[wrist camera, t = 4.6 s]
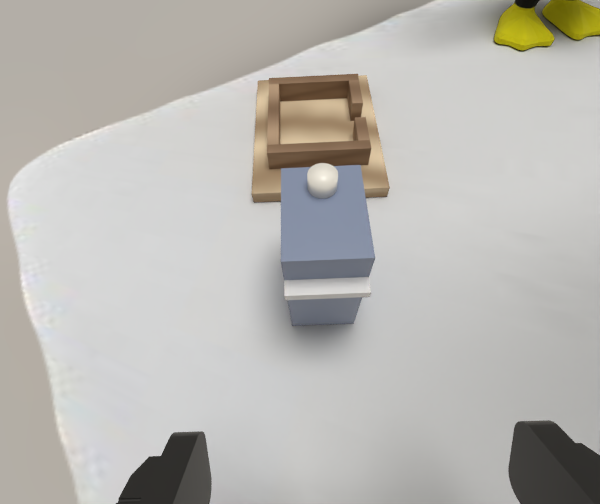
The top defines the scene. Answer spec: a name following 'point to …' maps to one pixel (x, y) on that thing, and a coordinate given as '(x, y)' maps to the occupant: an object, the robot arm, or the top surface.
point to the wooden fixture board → (315, 131)
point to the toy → (532, 32)
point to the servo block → (325, 243)
